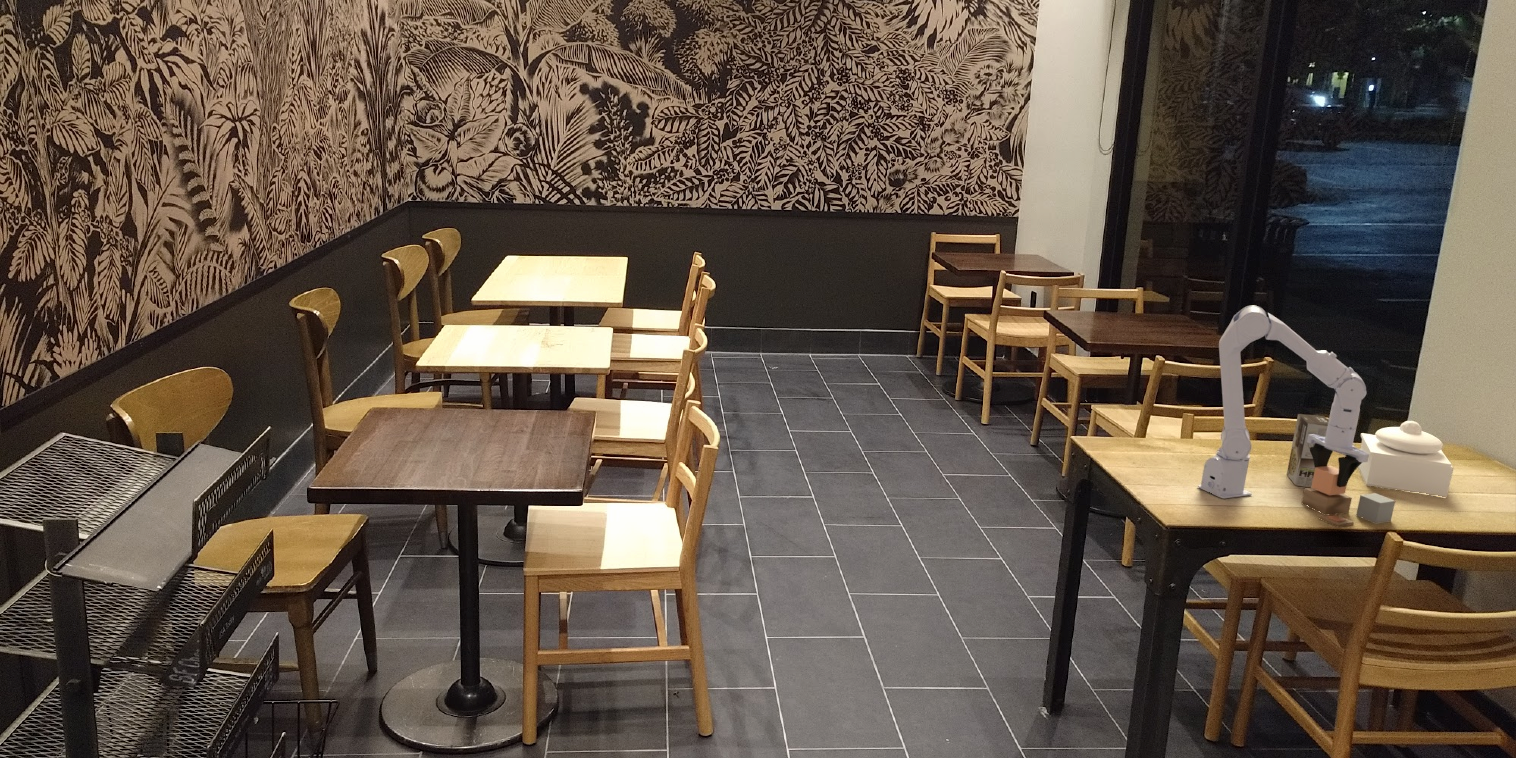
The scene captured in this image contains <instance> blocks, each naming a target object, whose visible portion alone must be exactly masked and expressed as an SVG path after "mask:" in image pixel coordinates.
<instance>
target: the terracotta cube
mask: <svg viewBox="0 0 1516 758" xmlns="http://www.w3.org/2000/svg"><path fill="white" fill-rule="evenodd" d="M1338 475H1339V467H1335V466H1333V465H1327V466H1323V467H1315V471H1314V476H1313V481H1312V486H1311V487H1310V488H1313V489H1315V490H1318V491H1320V492H1323V493H1325V494H1327V495H1337V494H1346V489H1347V485H1348V483H1347V484H1346V486H1345V487H1338V486H1337V480H1338Z"/></svg>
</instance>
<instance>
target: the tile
mask: <svg viewBox="0 0 1516 758" xmlns="http://www.w3.org/2000/svg"><path fill="white" fill-rule="evenodd" d="M1319 518H1320V519H1319ZM1318 519H1319V520H1321V519H1322V520H1321V521H1323V520H1324V522H1325V521H1326V522H1325V523H1328V524H1330V525H1332V526H1334V527H1337V528H1341V527H1346V526H1348V527H1349V526H1354V523H1355V522H1354V521H1353V520H1350V519H1348V518H1345V517H1343V516H1341V515H1340V514H1329V515H1324V514H1322V515H1319V516H1318Z"/></svg>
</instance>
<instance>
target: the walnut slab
mask: <svg viewBox="0 0 1516 758" xmlns="http://www.w3.org/2000/svg"><path fill="white" fill-rule="evenodd" d="M1352 499H1353V497H1352V496H1350V495H1348V494H1346V493H1344V494H1337V495H1327V494H1325V493H1323V492H1320V491H1318V490H1315V489H1313V488H1311V487H1304V489H1303V494H1302V498H1301V503H1303V504H1304V506H1306V505H1308V506H1309V507H1308V506H1307V507H1308V508H1309V509H1312V508H1313V509H1312V510H1314V509H1315V510H1314V511H1316V512H1318V511H1320V512H1321V513H1320V512H1319V513H1320V514H1322V513H1323V514H1322V515H1324V514H1329V515H1330V514H1336V515H1338V514H1337V513H1342V514H1349V513H1350V508H1351V504H1352ZM1303 504H1302V505H1303Z"/></svg>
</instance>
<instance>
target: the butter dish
mask: <svg viewBox="0 0 1516 758" xmlns="http://www.w3.org/2000/svg"><path fill="white" fill-rule="evenodd" d="M1360 438H1361V445H1360V448H1359V449H1360V450H1362V451H1364V452H1366V453H1368V454H1369V458H1368V462H1362V463H1361V464H1360V465H1359V466H1358V467H1357V469H1358V471H1359V470H1360V471H1359V473H1360V475H1361V477H1363V478H1362V480H1363V482H1364V481H1365V482H1364V484H1365V483H1366V484H1365V486H1367V487H1371V486H1376V487H1375V488H1378V487H1382V488H1381V489H1384V488H1388V489H1387V490H1390V489H1397V490H1404V491H1410V492H1419V493H1426V494H1429V495H1438V496H1442V497H1446V498H1447V496H1448V494H1449V489H1450V485H1451V482H1452V481H1451V480H1452V476H1453V473H1454V469H1455V468H1454V466H1452V463H1451V462H1450V461H1449V459H1448V458H1447V456H1446V455H1445V453H1444V452H1443V451H1442V449H1443V447H1444V443H1443V442H1442V441H1441V440H1440V439H1439V438H1438V437H1436V436H1434V435H1432V434H1431V433H1428V432H1425V431H1423V430H1422V426H1421V425H1420V424H1419V422H1417V421H1414V420H1406V421H1404V422H1402V423H1401V424H1400V426H1389V427H1382V428H1380V429H1378V430H1377V431H1376V432H1375V433H1374V434H1371V433H1364V432H1362V433H1360Z"/></svg>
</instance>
